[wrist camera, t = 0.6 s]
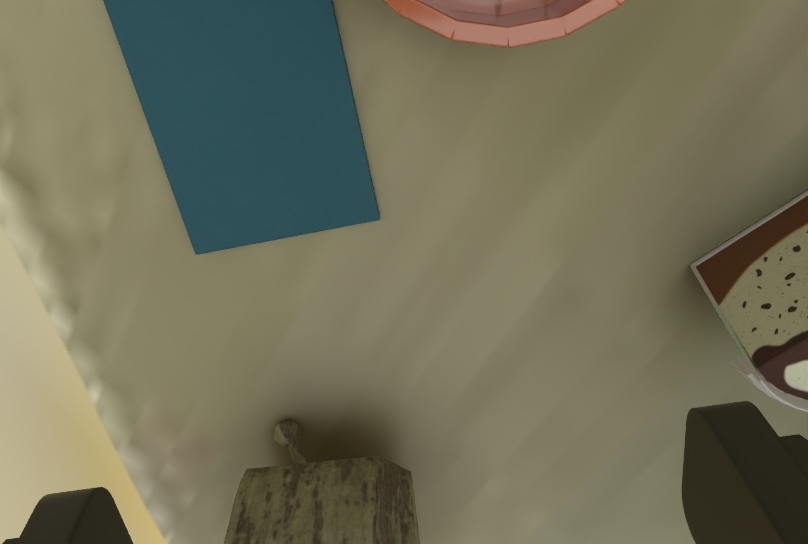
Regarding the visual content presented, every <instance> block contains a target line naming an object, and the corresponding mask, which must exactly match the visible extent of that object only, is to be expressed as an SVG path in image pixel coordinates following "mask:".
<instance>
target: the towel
mask: <svg viewBox="0 0 808 544" xmlns="http://www.w3.org/2000/svg"><path fill="white" fill-rule="evenodd" d="M103 1H104V3H105V6H106V9H107V12H108V14H109V17H110V20H111V23H112V25H113V28H114V31H115V34H116V36H117V39H118V42H119V45H120V47H121V50H122V53H123V56H124V58H125V61H126V64H127V67H128V69H129V72H130V75H131V78H132V80H133V83H134V86H135V89H136V91H137V94H138V97H139V100H140V102H141V105H142V108H143V111H144V113H145V116H146V119H147V122H148V124H149V127H150V130H151V133H152V135H153V138H154V141H155V144H156V146H157V149H158V152H159V155H160V157H161V160H162V163H163V166H164V168H165V171H166V174H167V177H168V179H169V182H170V185H171V188H172V190H173V193H174V196H175V199H176V201H177V204H178V207H179V210H180V212H181V215H182V218H183V221H184V223H185V226H186V229H187V232H188V235H189V237H190V240H191V243H192V246H193V248H194V251H195V254H196V255H197V254H203V253H208V252H213V251H218V250H224V249H229V248H234V247H239V246H245V245H250V244H255V243H260V242H266V241H271V240H276V239H281V238H287V237H292V236H297V235H302V234H308V233H313V232H318V231H323V230H328V229H334V228H339V227H344V226H349V225H355V224H360V223H365V222H370V221H376V220H380V216H379V211H378V206H377V202H376V197H375V193H374V188H373V184H372V179H371V175H370V170H369V166H368V161H367V157H366V152H365V148H364V143H363V138H362V134H361V129H360V125H359V120H358V116H357V111H356V107H355V102H354V98H353V93H352V89H351V84H350V80H349V75H348V70H347V66H346V61H345V57H344V52H343V48H342V43H341V39H340V34H339V30H338V25H337V21H336V16H335V11H334V7H333V2H332V0H103Z"/></svg>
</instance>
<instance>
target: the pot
mask: <svg viewBox="0 0 808 544" xmlns="http://www.w3.org/2000/svg"><path fill="white" fill-rule="evenodd" d="M384 1H385V2H386V3H387V4H388V5H389V6H390V7H391V8H392V9H393V10H394V11H395V12H396V13H399V15H400V16H402V17H404V18H406V19H408V20H410V21H412V22H415V23H417V24H419V25H421V26H423V27H425V28H427V29H429V30H431V31H433V32H435V33H437V34H439V35H441V36H443V37H445V38H447V39H451V40H453V41H460V42H467V43H475V44H483V45H491V46H499V47H509V48H510V47H515V46H520V45H525V44H530V43H535V42H540V41H545V40H550V39H555V38H560V37H565V36H566V35H569V34H570V33H572V32H574V31H576V30H578V29H580V28H581V27H583V26H585V25H587V24H589V23H590V22H592V21H594V20H596V19H598V18H600V17H601V16H603V15H605V14H607V13H609V12H611V11H612V10H614V9H616V8H618V7H619V5H622V4H623V3H624V2H625V1H626V0H384Z"/></svg>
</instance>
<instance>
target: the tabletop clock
mask: <svg viewBox="0 0 808 544" xmlns="http://www.w3.org/2000/svg"><path fill="white" fill-rule="evenodd" d="M300 433H301V430H300V428H299V427H298V425H297V424H296V423H295V422H294V421H289V420H285V421H282V422H280V423H279V424H278V425H277V426H276V427H275V431H274V439H275V440H276V441H277V443H278V444H279V445H280V446H283V447H288V448H289V451H290V455H291V458H292V461H293V464H292V465H282V466H273V467H264V468H254V469H247V470H246V472H245V474H244V476H243V477H242V479H241V482H240V485H239V488H238V491H237V494H236V498H235V501H234V505H233V509H232V513H231V517H230V522H229V526H228V530H227V534H226V538H225V542H224V544H420V541H419V533H418V524H417V516H416V508H415V499H414V491H413V483H412V476H411V471H408V470H406V469H404V468H402V467H400V466H398V465H396V464H394V463H391V462H389V461H387V460H385V459H383V458H381V457H379V456H367V457H358V458H348V459H339V460H330V461H320V462H311V463H307V461H306V459H305V458H304V456H303V454H302V452H301V451H300V449H299V447H298V445H297V444H296V443H297V442H298V441H299V439H300Z"/></svg>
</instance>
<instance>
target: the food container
mask: <svg viewBox="0 0 808 544" xmlns="http://www.w3.org/2000/svg"><path fill="white" fill-rule="evenodd" d="M690 267H691V269H692V271H693V272H694V274H695V276H696V277H697V279H698V281H699V283H700V284H701V286H702V288H703V289H704V291H705V293H706V294H707V296H708V298H709V300H710V301H711V303H712V305H713V306H714V308H715V310H716V311H717V313H718V315H719V317H720V318H721V320H722V322H723V323H724V325H725V327H726V329H727V330H728V332H729V334H730V335H731V337H732V339H733V340H734V342H735V344H736V346H737V347H738V349H739V351H740V352H741V354H742V356H743V357H744V359H745V361H746V363H747V364H748V366H749V368H750V369H751V371H749V372H748V371H747V370H745V369H744V368H743V367H741V366H740V365H739V364H737V363H736V362H734V361H733V360H732V359H731V360H729V363H730V364H731V365H732V366H733V367H734V368H735V369H736V370H737V372H738V373H740V374H741V375H742V376H743V377H745V378H746V379H747V380H749V381H750V382H751V383H753V384H754V385H755V386H757V387H758V388H759V389H760V390H762V391H763V392H764V393H766V394H767V395H768V396H770V397H772V398H774V399H776V400H778V401H780V402H782V403H784V404H787V405H790V406H792V407H794V408H796V409H799V410H802V411H806V412H808V190H807V191H805V192H804V193H802V194H801V195H799V196H798V197H796V198H794V199H793V200H791V201H790V202H788V203H787V204H785V205H783V206H782V207H780V208H779V209H777V210H776V211H774V212H772V213H771V214H769V215H768V216H766V217H765V218H763V219H761V220H760V221H758V222H757V223H755V224H753V225H752V226H750V227H749V228H747V229H746V230H744V231H742V232H741V233H739V234H738V235H736V236H735V237H733V238H731V239H730V240H728V241H727V242H725V243H724V244H722V245H720V246H719V247H717V248H716V249H714V250H713V251H711V252H709V253H708V254H706V255H705V256H703V257H702V258H700V259H698V260H697V261H695V262H694V263H692V264H690Z"/></svg>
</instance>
